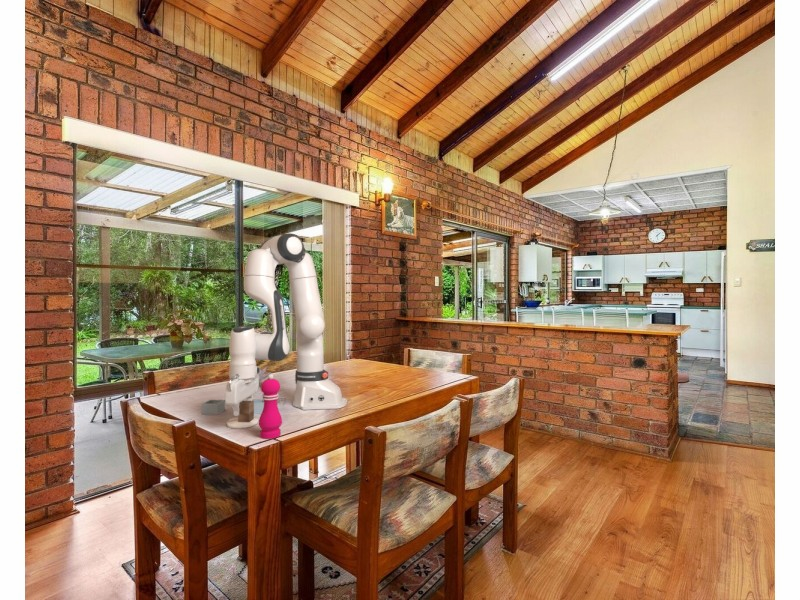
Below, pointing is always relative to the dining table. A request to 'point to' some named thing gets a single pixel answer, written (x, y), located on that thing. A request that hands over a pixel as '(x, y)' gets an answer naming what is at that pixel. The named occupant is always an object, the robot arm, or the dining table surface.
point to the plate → (241, 423)
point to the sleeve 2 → (258, 405)
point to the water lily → (262, 375)
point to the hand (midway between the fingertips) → (242, 411)
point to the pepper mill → (270, 409)
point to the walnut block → (246, 411)
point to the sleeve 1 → (213, 407)
